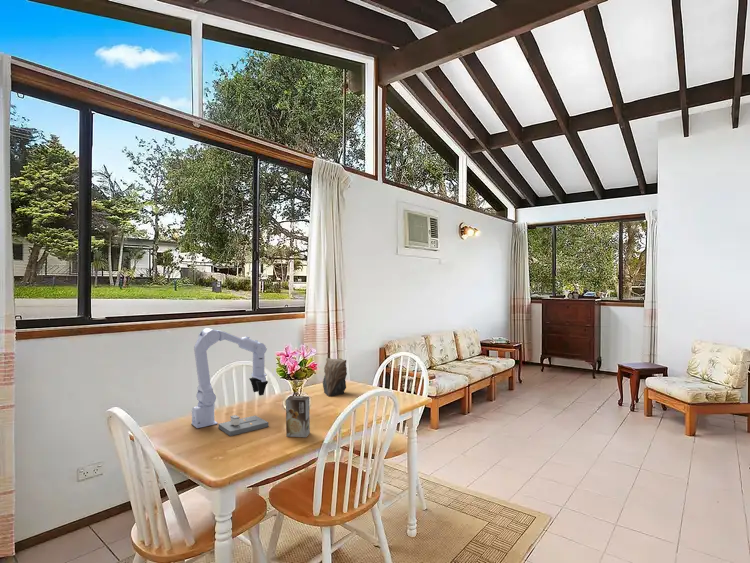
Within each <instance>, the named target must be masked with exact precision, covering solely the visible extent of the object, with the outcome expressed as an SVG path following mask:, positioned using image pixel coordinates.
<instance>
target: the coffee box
mask: <svg viewBox="0 0 750 563" xmlns="http://www.w3.org/2000/svg"><path fill="white" fill-rule="evenodd" d="M310 417H311V416H310V396H308V395H307V396H306V395H303V396H302V395H289V396H288V397H287V398H286V399H285V422H286V423H285V430H286V431H285V433H286V434H285V435H286V436H285V437H288V438H289V437H292V438H295V437H296V438H308V436H309V435H310V433H311V430H310V429H311V428H310V427H311V426H310V425H311V424H310V422H311V421H310V420H311V419H310Z"/></svg>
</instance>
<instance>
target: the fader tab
mask: <svg viewBox="0 0 750 563" xmlns="http://www.w3.org/2000/svg"><path fill="white" fill-rule="evenodd" d="M229 418H230V421H231V424H232V425H234V426H235V425H239V424H240V419H241V417H240V416H238V415H236V414H234V415H230V417H229Z"/></svg>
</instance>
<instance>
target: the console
mask: <svg viewBox="0 0 750 563" xmlns="http://www.w3.org/2000/svg"><path fill="white" fill-rule="evenodd" d="M239 419H240V424H239V425H235V426H234V425H232V424H231V420H230V421H225V422H224V421H223V422H219V423H218V424H217V425H218V426H217V429H219V430H221V431H222V432H223V433H225V434H226V435H228V436H229V437H232V436H237V435H241V434H245V433H249V432H252V431H257V430H261V429H264V428H268V427H269V421H267V420H265V419H263V418H261V417H259V416H258V415H256V414H255V415H251V416H247V417H242V418H239Z"/></svg>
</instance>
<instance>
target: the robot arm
mask: <svg viewBox="0 0 750 563" xmlns="http://www.w3.org/2000/svg"><path fill="white" fill-rule="evenodd" d="M224 340H225V341H228V342H230V343H234V344H236V345H238V348H240V349H242V350H246V351H248V352H250V353H251V352H252V372H251V377H249V379H248V380H249V381H250V383H251V387H252V391H253V393H257V392H258V396H264V394H265V390H266V387H267V384H268V383H269V381H268V380H267V373H265V354H266V352H267V349H268V348H267V346H266V344H264V343H263V342H259V340H257V339H255V340H254V339H252V338H250V336H242V337H239V336H236V335H233V334H231V333H228V332H226V331H223V330H220V329H219V330H218V329H212V328H210V327H205V328H204V329H202V330H201V331H200V332H199V333H198V337H197V339H196V342H195V344H194V346H193V350H194V358H195V365H196V366H195V368H196V372H197V374H196V375H197V381H198V382H197V383H198V386H197V391H196V392H197V393H196V396H195V397H196V399H197V402H198V403H197V405H196V406H193V407H192V408H191V409H192V410H191V425H192V426H194V427H195V428H196V429H199V428H205V427H208V426H213V425H218V424H219V423H218V421H216V420H215V403H216V401H217V396H216V393H215V392H214V389H213V387H212V386H213V385H212V384H211V378H210V377H211V376H210V370H209V362H208V361H209V360H208V353H207V351H208V349H209V348H210V347H212V346H214V344H216V343H218V342H221V341H224Z"/></svg>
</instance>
